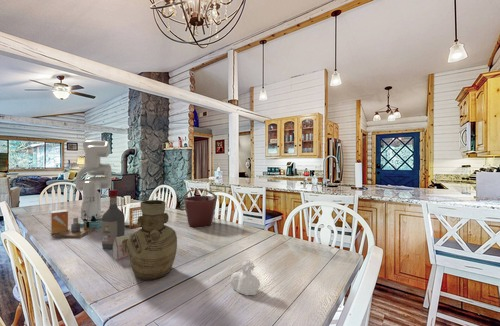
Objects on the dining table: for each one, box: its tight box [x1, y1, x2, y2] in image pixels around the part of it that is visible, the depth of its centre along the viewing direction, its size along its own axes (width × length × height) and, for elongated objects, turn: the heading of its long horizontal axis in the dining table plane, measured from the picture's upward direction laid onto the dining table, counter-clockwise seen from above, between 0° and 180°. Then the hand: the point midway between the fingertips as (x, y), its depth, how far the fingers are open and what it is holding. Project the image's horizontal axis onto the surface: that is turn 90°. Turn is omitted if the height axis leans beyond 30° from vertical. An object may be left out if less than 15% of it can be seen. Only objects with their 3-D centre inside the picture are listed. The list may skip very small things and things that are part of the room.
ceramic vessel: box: [122, 199, 178, 281], centre depth 97 cm, size 19×21×30 cm
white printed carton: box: [112, 234, 131, 261], centre depth 112 cm, size 4×7×10 cm, turn 147°
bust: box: [230, 259, 261, 296], centre depth 86 cm, size 12×8×11 cm
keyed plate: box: [79, 220, 102, 229], centre depth 157 cm, size 14×6×3 cm, turn 90°
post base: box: [54, 216, 96, 239], centre depth 143 cm, size 14×14×10 cm
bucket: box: [182, 188, 218, 228], centre depth 167 cm, size 24×22×25 cm
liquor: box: [101, 189, 125, 250], centre depth 125 cm, size 9×9×30 cm
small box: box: [50, 209, 69, 235], centre depth 147 cm, size 8×6×13 cm
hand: (90, 225), depth 157 cm, fingers closed on keyed plate, 6 cm apart
